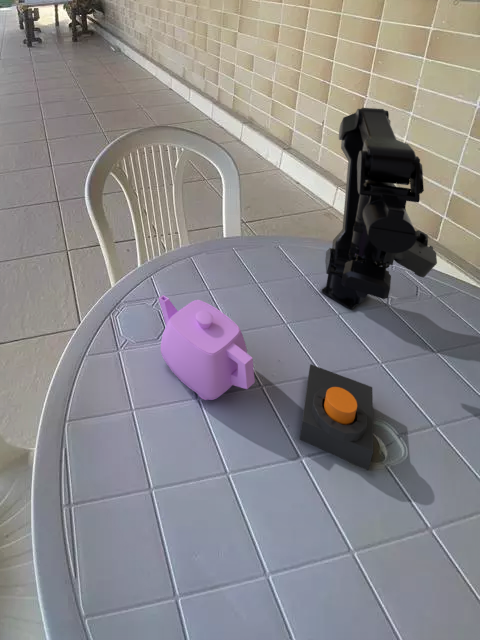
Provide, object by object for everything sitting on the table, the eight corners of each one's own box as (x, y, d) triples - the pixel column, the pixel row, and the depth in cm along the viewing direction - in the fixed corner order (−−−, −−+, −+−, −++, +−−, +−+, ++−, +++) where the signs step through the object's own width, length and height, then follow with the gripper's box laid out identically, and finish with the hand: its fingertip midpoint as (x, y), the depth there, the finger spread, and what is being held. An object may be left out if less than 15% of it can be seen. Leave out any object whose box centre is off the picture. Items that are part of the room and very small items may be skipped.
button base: (307, 381, 74) (311, 356, 71) (367, 405, 69) (374, 378, 67) (299, 442, 65) (303, 415, 62) (368, 474, 60) (375, 446, 58)
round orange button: (325, 394, 66) (327, 382, 65) (354, 405, 64) (357, 394, 63) (322, 416, 62) (325, 404, 62) (354, 429, 60) (357, 417, 60)
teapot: (270, 387, 73) (277, 332, 68) (225, 435, 66) (229, 377, 62) (182, 319, 88) (183, 269, 84) (138, 352, 81) (136, 300, 77)
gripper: (442, 264, 58) (419, 353, 63) (436, 206, 72) (418, 282, 77) (348, 240, 64) (334, 322, 69) (360, 191, 78) (347, 262, 83)
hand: (361, 296), depth 74 cm, fingers closed
